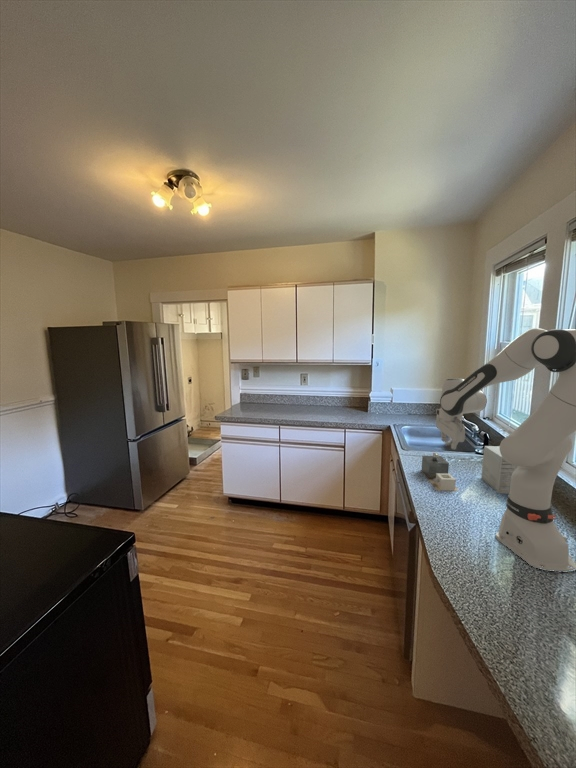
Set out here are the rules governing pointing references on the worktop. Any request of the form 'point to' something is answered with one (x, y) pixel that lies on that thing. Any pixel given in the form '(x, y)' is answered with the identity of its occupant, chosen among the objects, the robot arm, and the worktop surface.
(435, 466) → the stepped grey block
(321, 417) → the worktop surface
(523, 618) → the worktop surface
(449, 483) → the pump housing
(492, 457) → the supplement box
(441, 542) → the worktop surface
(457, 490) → the board
